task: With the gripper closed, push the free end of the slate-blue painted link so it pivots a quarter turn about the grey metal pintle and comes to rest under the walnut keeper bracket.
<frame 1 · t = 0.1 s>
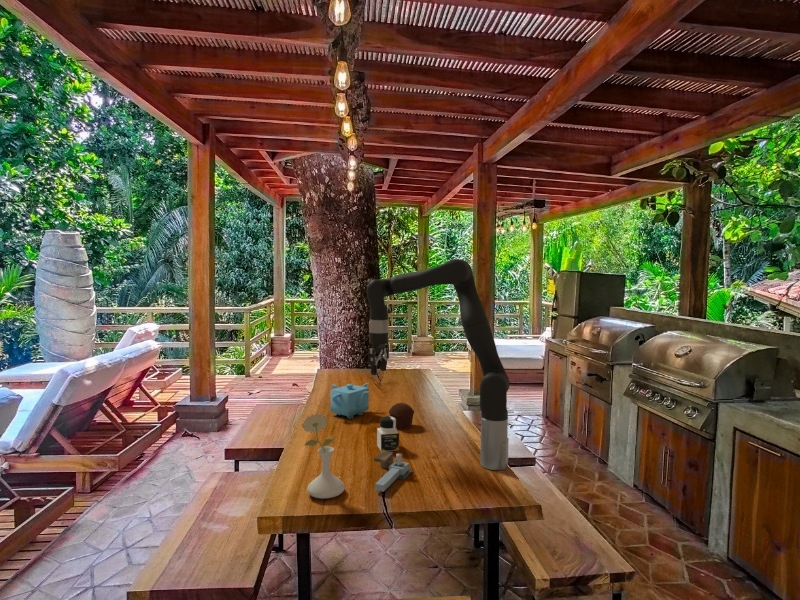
hand: (378, 372, 180), 29 cm above the table, tool pointing down, fingers open, 8 cm apart
teakettle: (351, 414, 223), on the table
pintle block: (399, 474, 156), on the table
keeper: (383, 470, 159), on the table
muffin: (401, 426, 206), on the table
medicine bottle: (387, 448, 180), on the table
link: (391, 475, 150), point 2 cm above the table, hinge at 90.0°
flower in vase: (323, 494, 142), on the table
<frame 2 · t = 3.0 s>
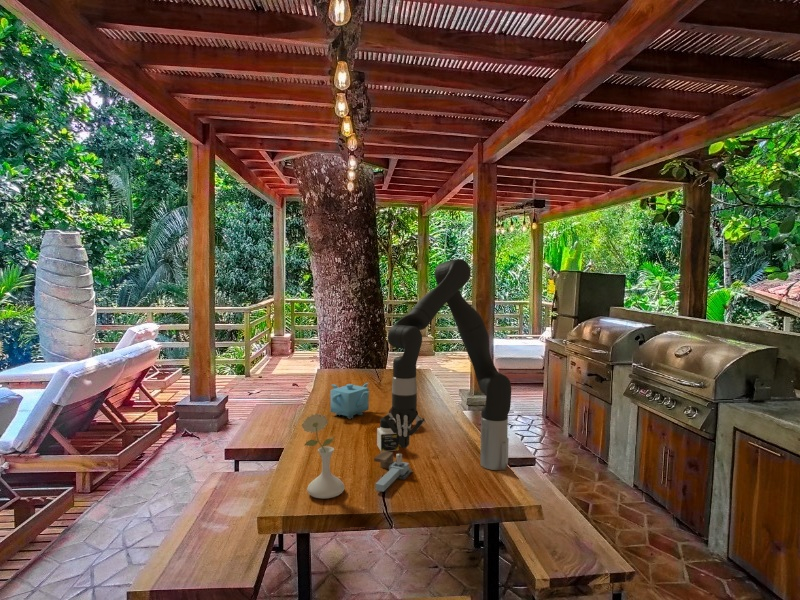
hand: (404, 447, 141), 15 cm above the table, tool pointing down, fingers closed
nothing on the table moved.
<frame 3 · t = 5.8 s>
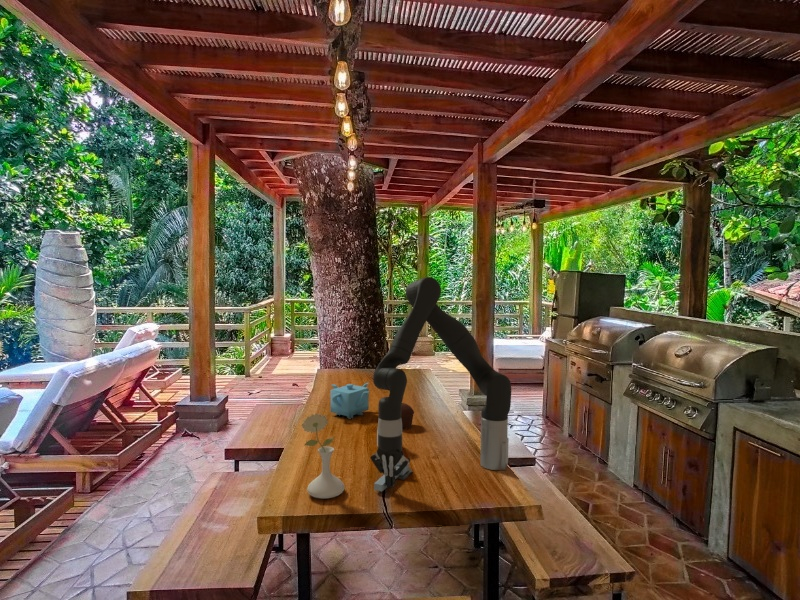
hand: (390, 486, 143), 2 cm above the table, tool pointing down, fingers closed
link: (390, 475, 150), point 2 cm above the table, hinge at 88.3°, touching gripper
everything else where it was.
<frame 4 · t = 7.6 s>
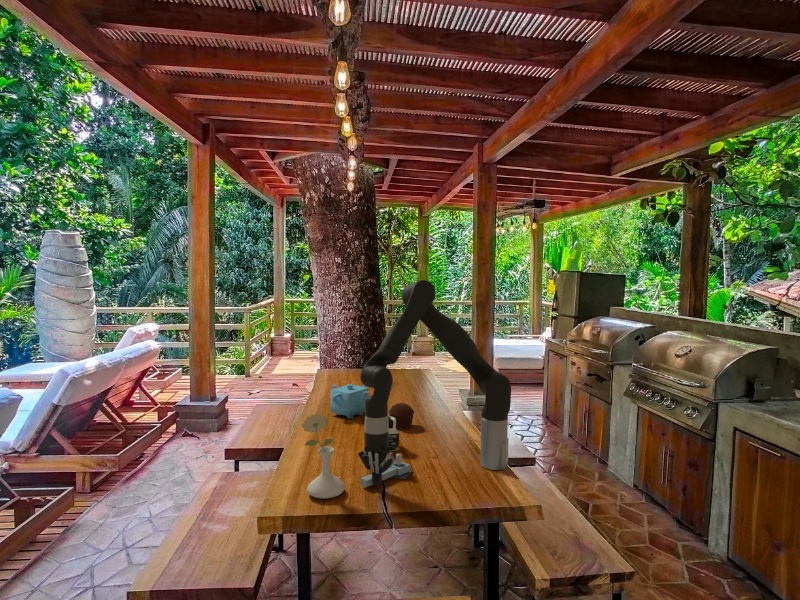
hand: (376, 483, 145), 2 cm above the table, tool pointing down, fingers closed
link: (384, 473, 152), point 2 cm above the table, hinge at 67.1°, touching gripper
everything else where it was.
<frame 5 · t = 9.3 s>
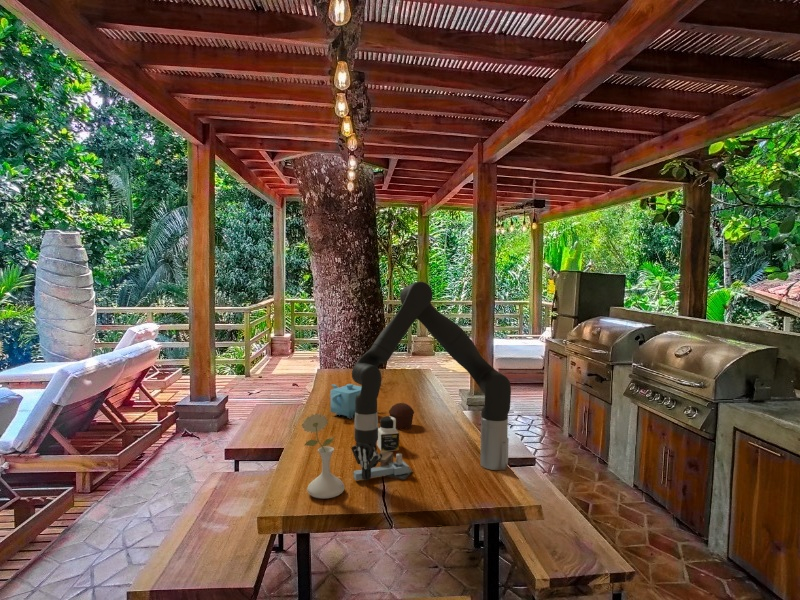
hand: (366, 478, 149), 2 cm above the table, tool pointing down, fingers closed
link: (380, 470, 154), point 2 cm above the table, hinge at 45.1°, touching gripper
everything else where it was.
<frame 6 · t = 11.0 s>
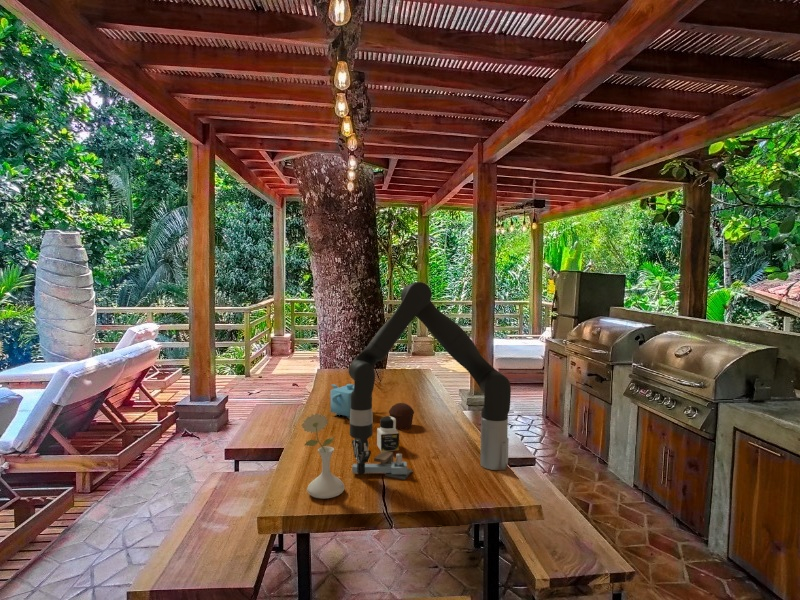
hand: (360, 473, 153), 2 cm above the table, tool pointing down, fingers closed
link: (379, 468, 156), point 2 cm above the table, hinge at 23.7°, touching gripper
everything else where it was.
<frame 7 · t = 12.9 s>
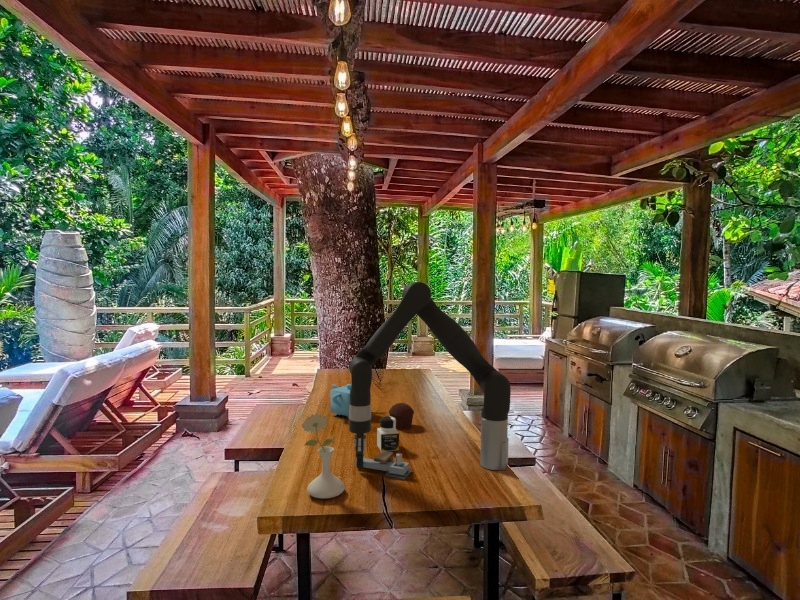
hand: (359, 467, 158), 2 cm above the table, tool pointing down, fingers closed
link: (381, 465, 159), point 2 cm above the table, hinge at 2.4°
everything else where it was.
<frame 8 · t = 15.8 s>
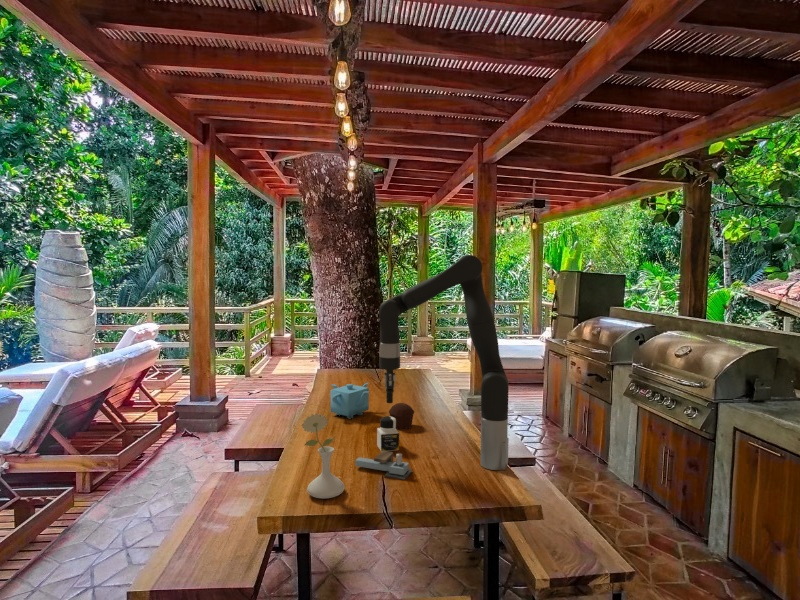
hand: (389, 402, 168), 21 cm above the table, tool pointing down, fingers closed
nothing on the table moved.
at the end: link at +2° (first picture: +90°); the gripper is holding nothing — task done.
